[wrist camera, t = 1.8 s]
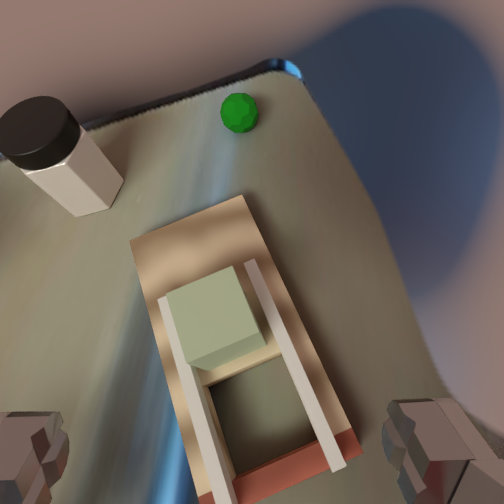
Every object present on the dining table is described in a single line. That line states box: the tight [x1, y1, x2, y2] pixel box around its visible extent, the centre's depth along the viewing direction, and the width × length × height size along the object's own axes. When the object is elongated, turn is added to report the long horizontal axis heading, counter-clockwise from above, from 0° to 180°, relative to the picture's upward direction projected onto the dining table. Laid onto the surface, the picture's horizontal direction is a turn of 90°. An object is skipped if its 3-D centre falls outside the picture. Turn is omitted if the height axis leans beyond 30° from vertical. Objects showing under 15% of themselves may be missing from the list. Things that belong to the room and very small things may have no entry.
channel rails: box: [157, 259, 347, 504], centre depth 31 cm, size 19×10×2 cm, turn 22°
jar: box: [0, 96, 124, 217], centre depth 41 cm, size 9×8×12 cm
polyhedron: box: [220, 93, 259, 133], centre depth 45 cm, size 5×5×5 cm
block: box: [166, 266, 267, 371], centre depth 30 cm, size 6×6×7 cm
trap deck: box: [130, 195, 363, 504], centre depth 35 cm, size 28×14×2 cm, turn 22°
